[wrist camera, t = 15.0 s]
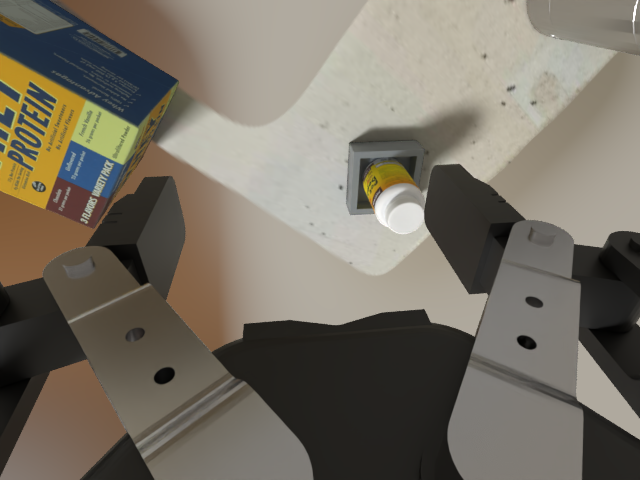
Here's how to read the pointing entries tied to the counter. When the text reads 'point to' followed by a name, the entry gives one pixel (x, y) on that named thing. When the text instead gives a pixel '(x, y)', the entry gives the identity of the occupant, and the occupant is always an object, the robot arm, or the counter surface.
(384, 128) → the counter surface
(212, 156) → the counter surface
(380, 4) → the counter surface
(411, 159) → the bin
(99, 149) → the protein box
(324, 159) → the counter surface
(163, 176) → the robot arm
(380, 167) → the supplement bottle
